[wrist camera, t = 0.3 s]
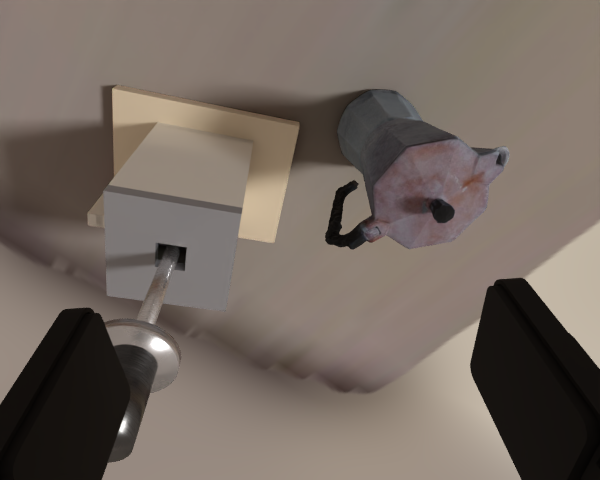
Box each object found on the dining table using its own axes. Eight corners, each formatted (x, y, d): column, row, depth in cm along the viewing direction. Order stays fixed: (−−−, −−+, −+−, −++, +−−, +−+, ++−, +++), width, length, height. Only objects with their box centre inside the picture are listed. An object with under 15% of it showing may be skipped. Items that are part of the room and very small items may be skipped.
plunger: (147, 167, 38) (2, 385, 18) (233, 182, 39) (183, 403, 19) (145, 238, 42) (25, 479, 22) (223, 250, 43) (174, 490, 23)
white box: (117, 84, 43) (32, 146, 29) (299, 121, 46) (307, 195, 31) (118, 211, 51) (53, 310, 36) (274, 236, 54) (271, 338, 39)
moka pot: (456, 126, 47) (553, 215, 30) (339, 200, 52) (368, 314, 35) (417, 50, 43) (505, 106, 26) (293, 139, 47) (299, 235, 30)
